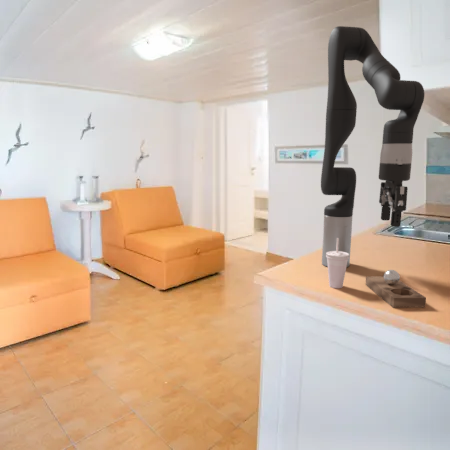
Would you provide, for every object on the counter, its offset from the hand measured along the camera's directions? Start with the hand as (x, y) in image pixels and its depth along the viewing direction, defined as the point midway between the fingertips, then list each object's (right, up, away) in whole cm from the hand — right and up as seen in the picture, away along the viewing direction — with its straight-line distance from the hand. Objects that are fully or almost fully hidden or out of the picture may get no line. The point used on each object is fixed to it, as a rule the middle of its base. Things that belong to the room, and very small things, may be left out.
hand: (390, 223), depth 100 cm
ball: (+1, -15, +1) cm, 15 cm away
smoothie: (-12, -18, +7) cm, 23 cm away
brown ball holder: (+1, -19, 0) cm, 19 cm away
